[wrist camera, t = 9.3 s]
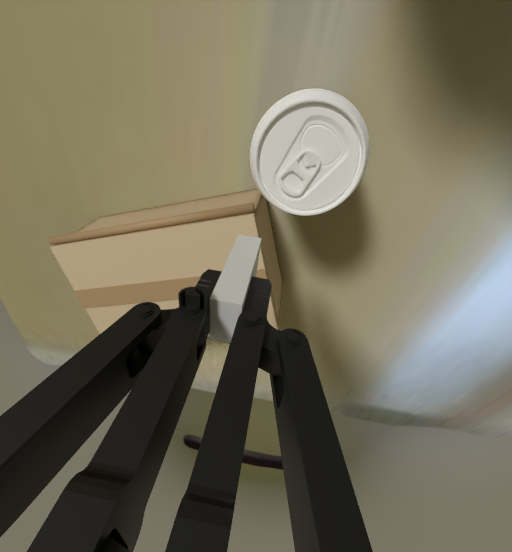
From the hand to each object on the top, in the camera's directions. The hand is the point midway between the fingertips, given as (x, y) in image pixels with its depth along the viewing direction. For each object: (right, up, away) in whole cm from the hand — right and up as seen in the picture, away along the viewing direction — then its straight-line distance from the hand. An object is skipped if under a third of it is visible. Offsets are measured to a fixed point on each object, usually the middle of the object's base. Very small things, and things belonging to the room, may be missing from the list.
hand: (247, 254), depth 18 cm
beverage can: (+5, +13, +10) cm, 17 cm away
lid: (-9, -2, +12) cm, 15 cm away
